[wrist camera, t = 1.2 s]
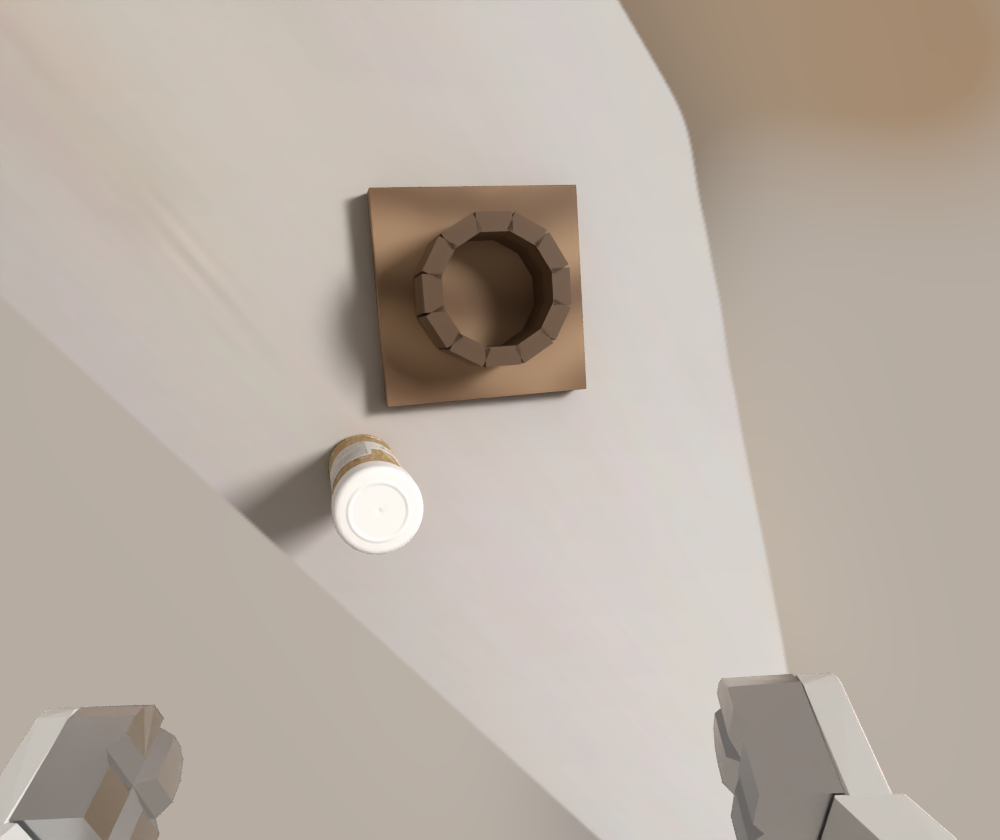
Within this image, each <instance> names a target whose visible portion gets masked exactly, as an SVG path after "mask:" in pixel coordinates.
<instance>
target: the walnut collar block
mask: <svg viewBox="0 0 1000 840" xmlns="http://www.w3.org/2000/svg"><path fill="white" fill-rule="evenodd" d="M367 195H368V206H369V218H370V229H371V240H372V252H373V263H374V275H375V286H376V297H377V309H378V320H379V332H380V343H381V354H382V366H383V377H384V389H385V400H386V405H387V406H388V407H392V406H403V405H414V404H425V403H436V402H447V401H458V400H468V399H479V398H490V397H501V396H512V395H523V394H534V393H545V392H556V391H567V390H578V389H586V373H585V353H584V333H583V314H582V294H581V274H580V254H579V234H578V214H577V195H576V185H534V186H463V187H391V188H369V189H368V192H367Z"/></svg>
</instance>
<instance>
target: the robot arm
mask: <svg viewBox="0 0 1000 840" xmlns="http://www.w3.org/2000/svg"><path fill="white" fill-rule="evenodd" d="M717 695H718V699H719V703H720V707H721V709H719V710H718V711H717V712H716V713H715V716H714V742H715V751H716V756H717V762H718V767H719V771H720V775H721V779H722V783H723V784H724V785H725V786H726V787H727V788H728V789H729V790H730V791H731V792H732V793H733V794H734V798H733V805H732V812H731V819H732V823H733V827H734V830H735V834H736V838H737V840H958V839H956V838H955V837H954V836H953V835H952V834H951V833H949V832H948V831H947V830H946V829H945V828H944V827H942V826H941V825H940V824H939V823H938V822H937V821H936V820H934V819H933V818H932V817H931V816H930V815H929V814H928V813H926V812H925V811H924V810H923V809H922V808H921V807H919V806H918V805H917V804H916V803H915V802H914V801H913V800H911V799H910V798H909V797H908V796H907V795H906V794H904V793H892V792H891V790H890V788H889V785H888V783H887V781H886V779H885V777H884V775H883V772H882V770H881V768H880V766H879V764H878V762H877V759H876V757H875V755H874V753H873V751H872V748H871V746H870V744H869V742H868V740H867V738H866V735H865V733H864V731H863V729H862V727H861V724H860V722H859V720H858V718H857V716H856V713H855V711H854V709H853V707H852V705H851V702H850V700H849V698H848V696H847V694H846V692H845V689H844V688H843V685H842V683H841V681H840V680H839V679H838V678H837V677H836V676H835V675H834V674H831V673H820V674H805V675H793V674H784V675H768V676H752V677H736V678H722V679H721V680H720V682H719V684H718V691H717ZM163 719H164V717H163V716H162V714H161V713H160V712H159V710H158V709H157V708H156V706H155V705H132V706H103V707H66V708H49V709H47V710H46V711H45V712H44V713H43V714H41V715H40V716H39V717H38V718H37V719H36V720H35V721H34V723H33V725H32V726H31V728H30V729H29V731H28V733H27V734H26V736H25V737H24V739H23V741H22V742H21V744H20V745H19V747H18V749H17V750H16V751H15V753H14V755H13V756H12V758H11V760H10V761H9V763H8V764H7V766H6V767H5V769H4V771H3V772H2V774H1V775H0V840H157V839H158V837H159V830H158V826H157V821H156V818H157V817H158V816H159V815H160V814H161V813H162V812H163V811H164V810H165V809H166V808H167V807H168V806H169V805H170V804H171V803H172V802H173V800H174V797H175V794H176V792H177V789H178V786H179V784H180V781H181V774H182V766H183V756H182V750H181V746H180V744H179V742H178V741H177V739H176V737H175V736H174V735H173V734H171V733H169V732H167V731H166V730H163V729H162V728H160V726H161V723H162V721H163Z"/></svg>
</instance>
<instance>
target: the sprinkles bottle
mask: <svg viewBox="0 0 1000 840" xmlns="http://www.w3.org/2000/svg"><path fill="white" fill-rule="evenodd" d="M329 475H330V481H331V491H332V500H331V512H332V518H333V522H334V525H335V528H336V530H337V532H338V534H339V535H340V537H341V538H342V539H343V540H344V541H345V542H346V543H347V544H348V545H349V546H351V547H352V548H354V549H356V550H358V551H360V552H363V553H367V554H385V553H389V552H392V551H395V550H397V549H399V548H400V547H402V546H404V545H405V544H406V543H407V542H408V541H410V540H411V538H412V537H413V536H414V535H415V533H416V532H417V530H418V528H419V526H420V523H421V521H422V517H423V500H422V496H421V493H420V490H419V488H418V487H417V485H416V483H415V482H414V480H413V479H412V477H411V476H410V475H409V474H408V473H407V472H406V471H405V470H403V469H402V467H401V465H400V464H399V462H398V461H397V459H396V458H395V456H394V455H393V452H392V451H391V449H390V448H389V446H388V445H387V444H386V443H385V442H383V441H382V440H381V439H379V438H377V437H374V436H371V435H355V436H351V437H348V438H347V439H345V440H344V441H342V442H341V443H339V444H338V445H337V446H336V447H335V449H334V451H333V452H332V454H331V457H330V461H329Z"/></svg>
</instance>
